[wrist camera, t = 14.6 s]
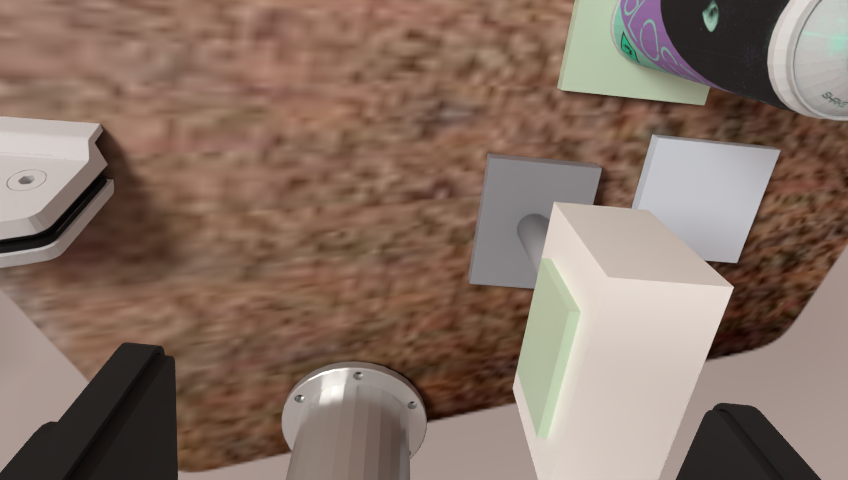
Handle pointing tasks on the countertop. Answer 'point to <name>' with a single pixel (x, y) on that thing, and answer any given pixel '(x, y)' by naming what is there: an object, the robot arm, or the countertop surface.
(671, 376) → the mounted unit
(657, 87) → the green tile
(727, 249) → the grey square tile
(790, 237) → the countertop surface
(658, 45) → the spray can
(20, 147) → the white bevelled plastic case
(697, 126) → the countertop surface
